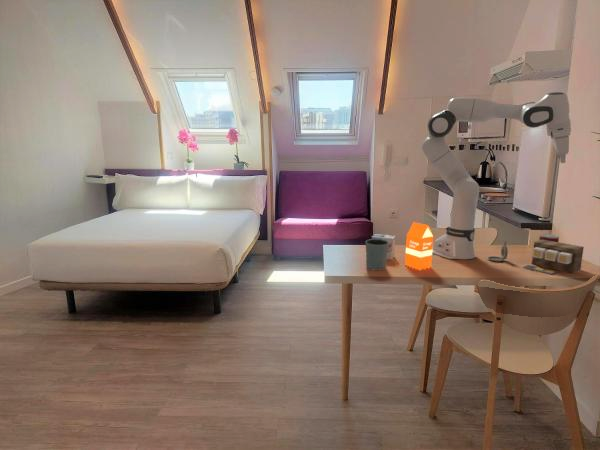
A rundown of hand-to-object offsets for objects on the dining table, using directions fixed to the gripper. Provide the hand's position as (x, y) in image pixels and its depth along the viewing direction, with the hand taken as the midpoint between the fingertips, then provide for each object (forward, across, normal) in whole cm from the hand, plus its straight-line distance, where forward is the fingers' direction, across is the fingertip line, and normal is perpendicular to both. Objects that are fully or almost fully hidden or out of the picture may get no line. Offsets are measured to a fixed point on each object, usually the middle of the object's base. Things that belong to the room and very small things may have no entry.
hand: (561, 160), depth 183 cm
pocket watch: (+40, +15, -30) cm, 53 cm away
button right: (+40, +21, -4) cm, 45 cm away
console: (+45, +15, -7) cm, 48 cm away
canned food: (+48, 0, -10) cm, 49 cm away
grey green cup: (+24, +49, -79) cm, 96 cm away
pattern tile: (+42, +24, -14) cm, 50 cm away
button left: (+39, +16, -13) cm, 44 cm away
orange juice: (+29, +40, -62) cm, 80 cm away
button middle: (+40, +18, -8) cm, 44 cm away
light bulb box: (+27, +32, -80) cm, 91 cm away
